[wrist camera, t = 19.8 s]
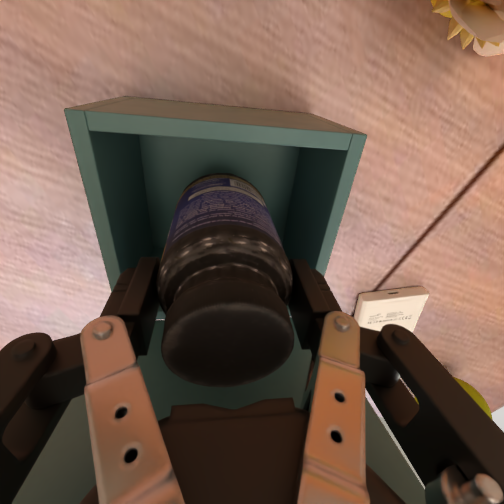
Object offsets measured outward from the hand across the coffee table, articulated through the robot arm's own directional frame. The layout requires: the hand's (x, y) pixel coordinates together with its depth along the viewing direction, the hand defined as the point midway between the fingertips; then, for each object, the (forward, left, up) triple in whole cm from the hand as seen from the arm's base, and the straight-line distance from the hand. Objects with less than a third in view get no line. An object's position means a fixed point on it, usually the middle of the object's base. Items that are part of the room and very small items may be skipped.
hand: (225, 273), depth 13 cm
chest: (0, 0, -12) cm, 12 cm away
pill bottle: (0, 0, -7) cm, 7 cm away
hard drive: (+22, +17, -12) cm, 30 cm away
